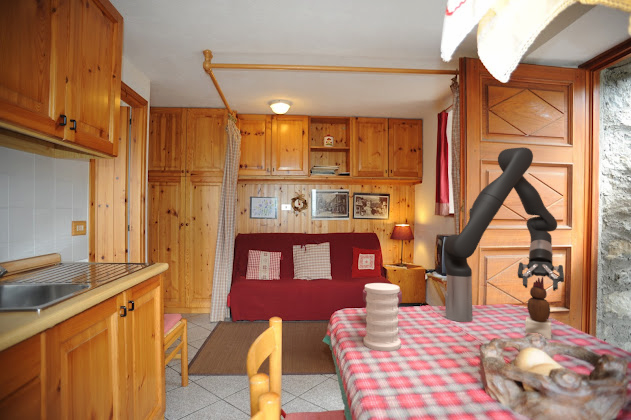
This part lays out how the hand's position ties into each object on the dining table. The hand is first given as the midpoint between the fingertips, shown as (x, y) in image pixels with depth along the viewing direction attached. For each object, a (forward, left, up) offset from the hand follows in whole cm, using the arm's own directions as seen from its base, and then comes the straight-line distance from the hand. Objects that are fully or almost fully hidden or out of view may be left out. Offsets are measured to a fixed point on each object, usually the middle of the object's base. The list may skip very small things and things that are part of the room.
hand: (539, 288), depth 118 cm
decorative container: (-39, -50, -15) cm, 65 cm away
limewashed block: (0, -10, -14) cm, 18 cm away
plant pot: (-47, -33, -15) cm, 59 cm away
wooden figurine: (0, -10, -10) cm, 14 cm away
